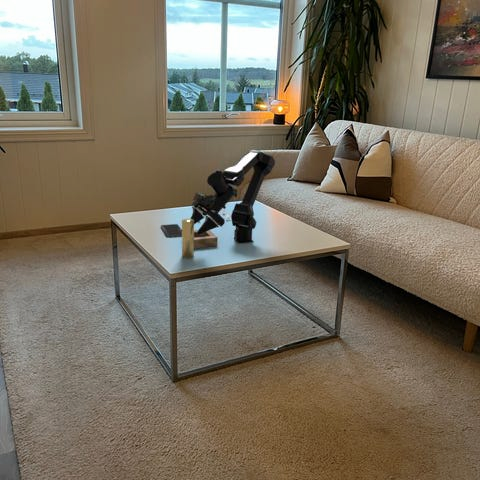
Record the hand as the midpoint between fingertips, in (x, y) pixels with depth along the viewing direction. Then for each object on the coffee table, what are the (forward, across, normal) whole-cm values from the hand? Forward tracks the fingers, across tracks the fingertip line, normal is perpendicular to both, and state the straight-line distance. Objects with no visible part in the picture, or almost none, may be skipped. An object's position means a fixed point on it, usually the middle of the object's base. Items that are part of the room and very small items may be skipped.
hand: (192, 230), depth 174 cm
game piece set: (-12, -43, +27) cm, 52 cm away
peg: (+8, 0, +6) cm, 10 cm away
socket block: (+1, -12, +13) cm, 18 cm away
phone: (+5, -30, +10) cm, 32 cm away
